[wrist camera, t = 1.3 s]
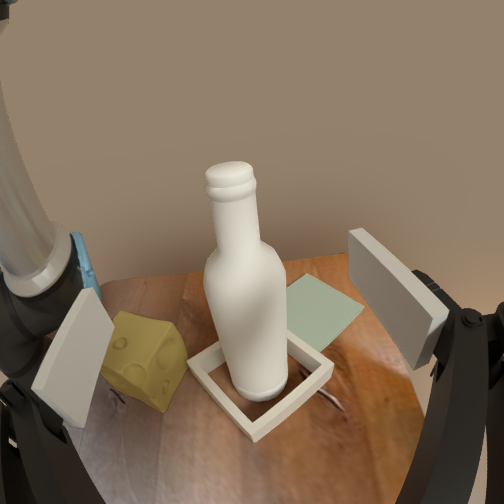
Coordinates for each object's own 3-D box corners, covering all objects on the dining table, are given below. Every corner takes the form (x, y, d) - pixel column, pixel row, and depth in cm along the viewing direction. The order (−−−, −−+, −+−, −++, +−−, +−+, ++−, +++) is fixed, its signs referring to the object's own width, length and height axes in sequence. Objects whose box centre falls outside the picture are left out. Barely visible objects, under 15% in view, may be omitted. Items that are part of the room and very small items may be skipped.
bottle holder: (193, 374, 38) (186, 361, 35) (264, 326, 45) (263, 310, 42) (254, 443, 28) (251, 435, 26) (330, 377, 35) (334, 363, 33)
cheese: (166, 415, 32) (136, 383, 26) (112, 390, 35) (80, 355, 29) (194, 361, 40) (175, 320, 34) (142, 344, 43) (118, 305, 37)
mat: (253, 312, 47) (253, 310, 47) (306, 275, 54) (306, 273, 54) (313, 358, 38) (313, 356, 38) (364, 308, 45) (364, 306, 45)
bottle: (275, 410, 32) (254, 191, 15) (223, 391, 35) (152, 186, 18) (295, 365, 38) (295, 154, 21) (247, 351, 41) (211, 153, 24)
